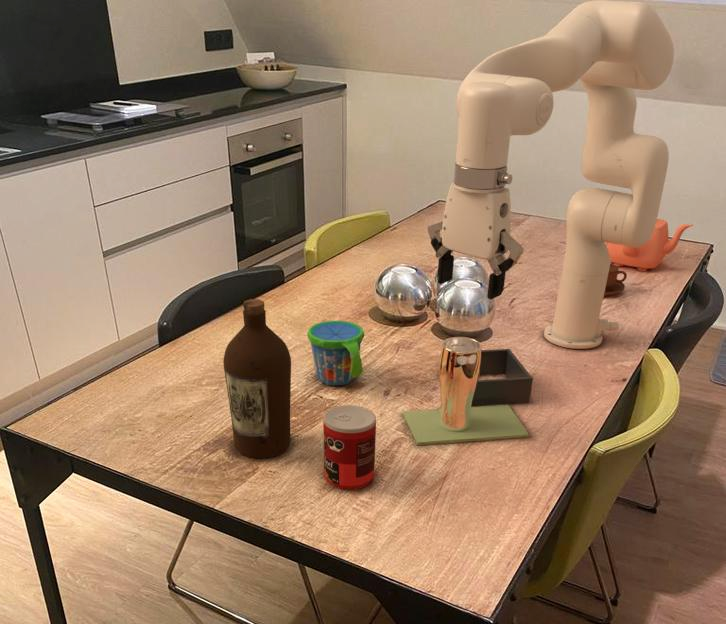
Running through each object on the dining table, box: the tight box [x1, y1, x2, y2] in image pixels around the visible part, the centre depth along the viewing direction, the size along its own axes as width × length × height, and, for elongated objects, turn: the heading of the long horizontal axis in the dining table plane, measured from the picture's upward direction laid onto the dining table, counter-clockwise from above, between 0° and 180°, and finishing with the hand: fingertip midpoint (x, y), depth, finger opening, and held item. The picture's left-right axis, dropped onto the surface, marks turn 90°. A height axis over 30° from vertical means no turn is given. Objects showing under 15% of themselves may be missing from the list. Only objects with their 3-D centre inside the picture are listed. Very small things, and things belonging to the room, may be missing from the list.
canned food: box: [322, 404, 377, 491], centre depth 118 cm, size 8×8×11 cm
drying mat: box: [402, 404, 530, 446], centre depth 135 cm, size 20×11×1 cm, turn 100°
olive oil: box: [223, 298, 292, 459], centre depth 122 cm, size 11×11×25 cm
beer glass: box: [437, 336, 482, 431], centre depth 131 cm, size 7×7×15 cm
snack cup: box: [306, 320, 365, 386], centre depth 147 cm, size 16×10×10 cm
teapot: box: [605, 218, 694, 272], centre depth 209 cm, size 18×18×14 cm
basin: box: [471, 348, 534, 407], centre depth 146 cm, size 13×13×5 cm
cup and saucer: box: [604, 263, 628, 296], centre depth 193 cm, size 12×12×6 cm
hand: (469, 289), depth 122 cm, fingers open, 9 cm apart
